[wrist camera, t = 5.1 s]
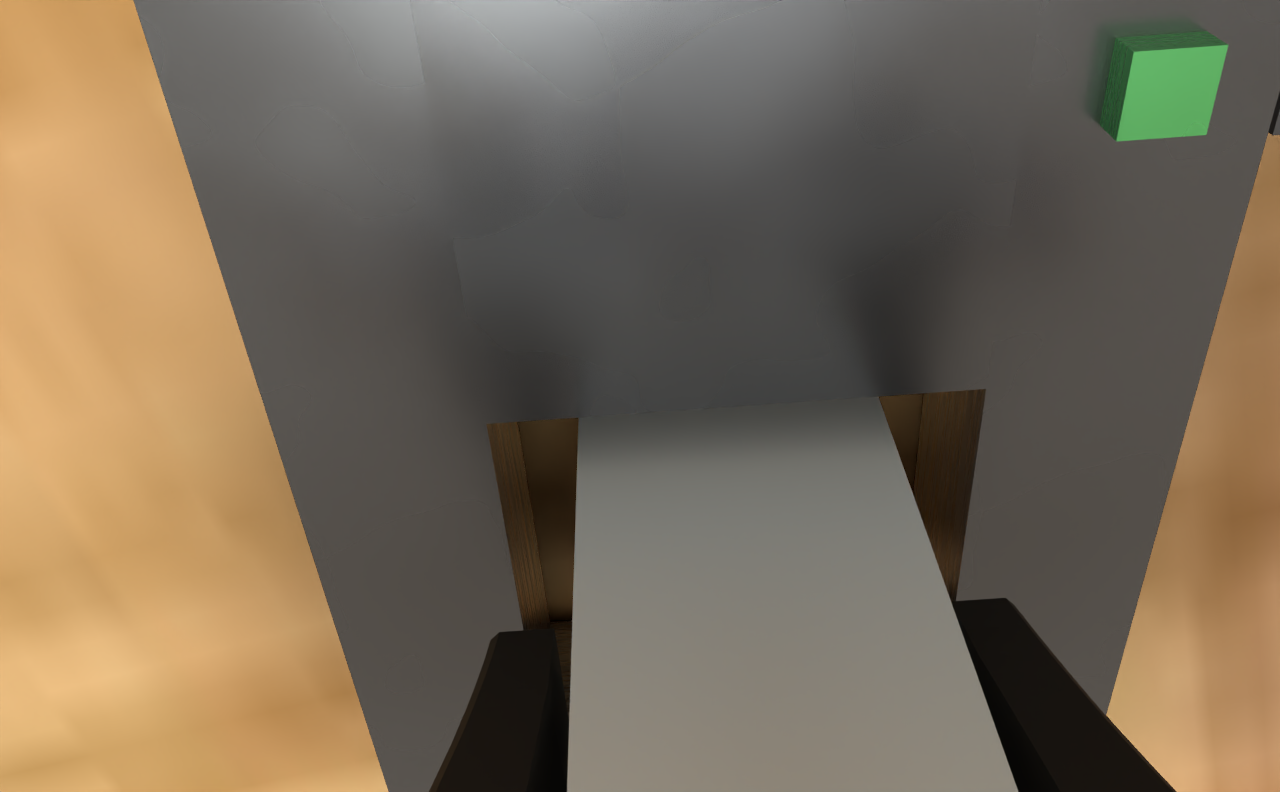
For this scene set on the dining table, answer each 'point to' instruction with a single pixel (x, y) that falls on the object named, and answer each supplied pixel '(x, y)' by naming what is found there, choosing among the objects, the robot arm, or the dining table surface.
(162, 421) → the dining table surface
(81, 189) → the dining table surface
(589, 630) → the plug
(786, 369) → the port panel
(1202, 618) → the dining table surface
